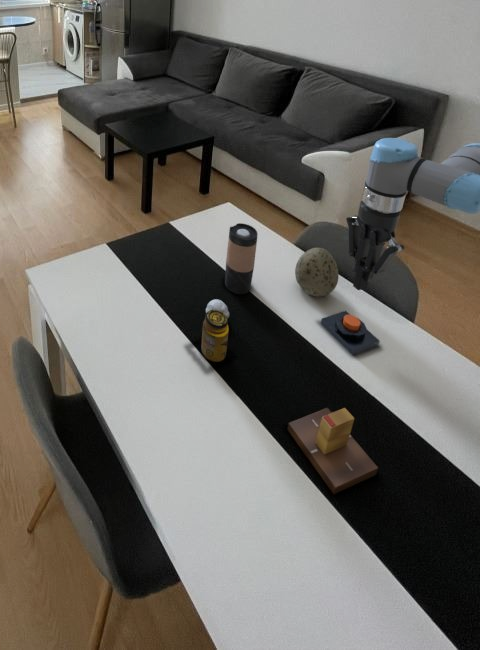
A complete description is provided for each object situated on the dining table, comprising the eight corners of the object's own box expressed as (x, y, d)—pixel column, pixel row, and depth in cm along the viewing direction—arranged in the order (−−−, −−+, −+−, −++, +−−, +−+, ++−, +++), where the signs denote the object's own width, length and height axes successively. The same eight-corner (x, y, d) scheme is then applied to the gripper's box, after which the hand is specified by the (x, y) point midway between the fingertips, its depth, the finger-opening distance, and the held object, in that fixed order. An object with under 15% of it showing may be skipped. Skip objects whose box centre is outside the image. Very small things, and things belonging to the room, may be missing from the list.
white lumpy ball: (204, 329, 114) (206, 310, 111) (205, 309, 120) (206, 290, 117) (228, 334, 112) (230, 314, 110) (227, 313, 118) (229, 294, 116)
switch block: (378, 347, 106) (381, 335, 105) (352, 356, 104) (355, 344, 103) (344, 316, 115) (347, 305, 114) (320, 324, 113) (322, 313, 112)
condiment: (233, 358, 106) (237, 322, 101) (206, 372, 103) (209, 336, 98) (213, 336, 112) (216, 301, 107) (187, 349, 109) (189, 313, 104)
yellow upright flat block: (337, 433, 86) (345, 406, 83) (347, 445, 84) (354, 417, 81) (315, 443, 85) (322, 415, 82) (324, 454, 83) (331, 427, 80)
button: (362, 328, 107) (364, 323, 107) (351, 332, 106) (352, 327, 106) (350, 317, 111) (351, 312, 110) (339, 321, 110) (340, 316, 109)
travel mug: (251, 298, 123) (258, 241, 115) (223, 292, 125) (228, 237, 118) (250, 279, 129) (257, 225, 122) (224, 274, 132) (229, 221, 124)
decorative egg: (343, 300, 120) (353, 258, 115) (310, 309, 118) (319, 266, 112) (314, 274, 130) (322, 234, 124) (284, 282, 128) (290, 241, 122)
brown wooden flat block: (375, 475, 81) (378, 467, 80) (333, 495, 79) (335, 486, 78) (325, 415, 92) (327, 406, 91) (286, 430, 90) (288, 422, 89)
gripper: (342, 193, 100) (326, 272, 109) (395, 225, 88) (371, 311, 97) (367, 187, 102) (349, 265, 111) (422, 217, 90) (397, 302, 99)
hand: (360, 286), depth 104 cm, fingers closed
